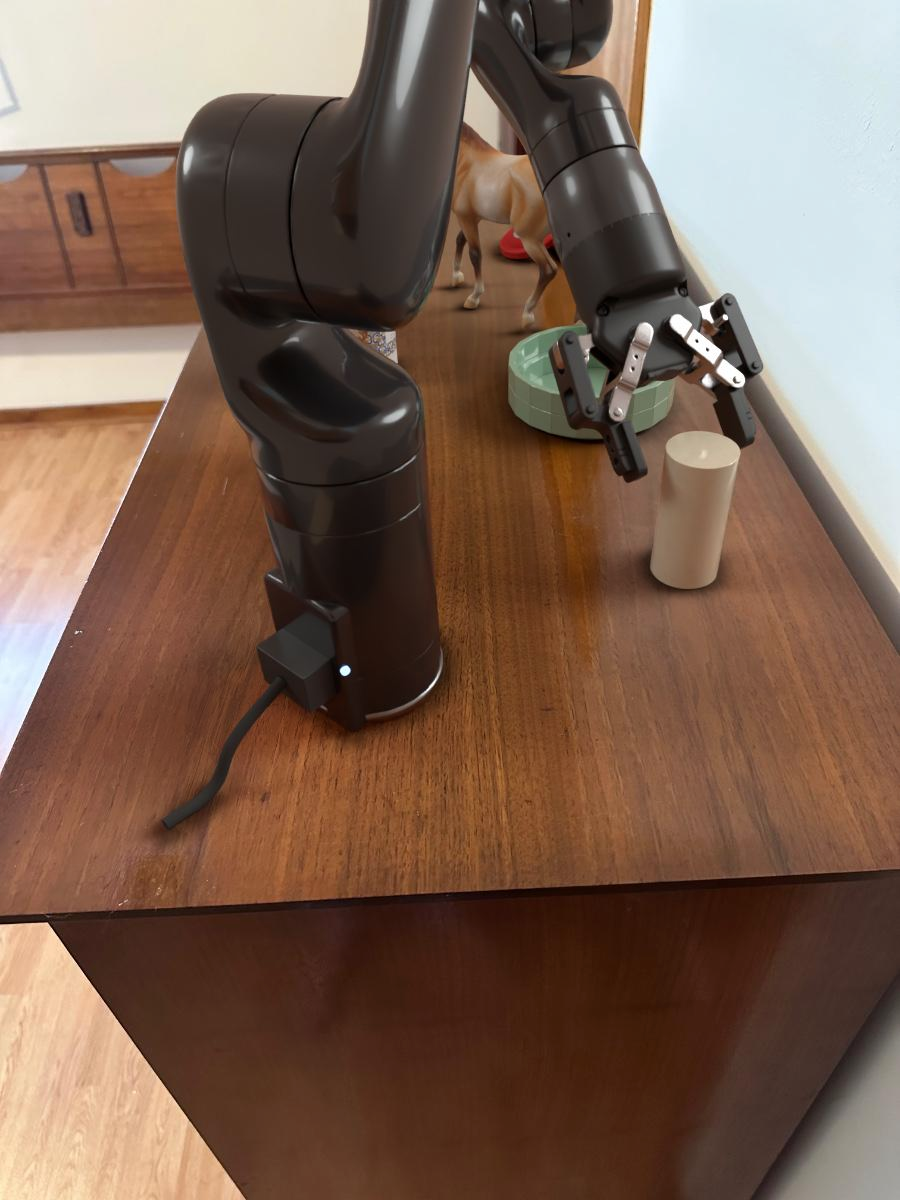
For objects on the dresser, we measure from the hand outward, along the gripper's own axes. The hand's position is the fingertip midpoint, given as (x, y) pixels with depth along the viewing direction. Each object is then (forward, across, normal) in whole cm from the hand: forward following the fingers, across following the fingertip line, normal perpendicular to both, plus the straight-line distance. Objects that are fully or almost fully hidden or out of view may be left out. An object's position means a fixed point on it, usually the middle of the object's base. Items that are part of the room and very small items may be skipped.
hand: (691, 463), depth 60 cm
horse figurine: (-26, +7, +38) cm, 46 cm away
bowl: (-11, +7, +23) cm, 26 cm away
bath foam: (-23, -10, +35) cm, 43 cm away
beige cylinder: (+7, 0, +5) cm, 8 cm away
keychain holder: (-39, +23, +48) cm, 66 cm away
